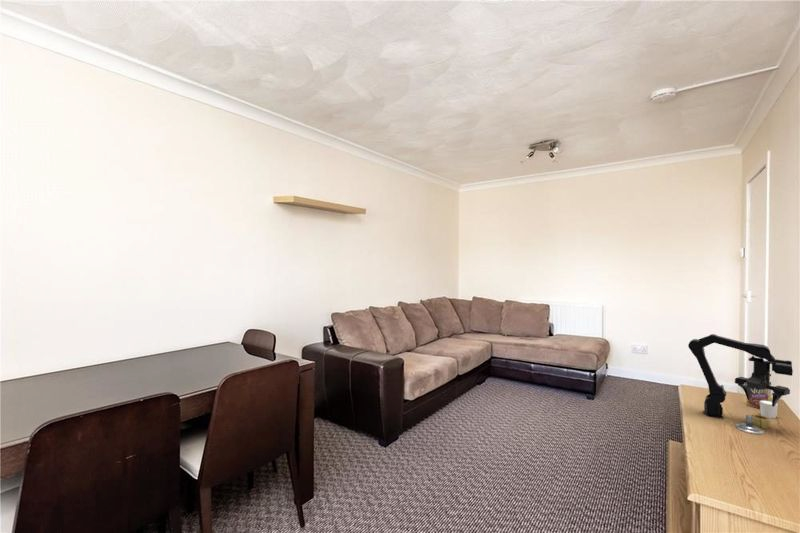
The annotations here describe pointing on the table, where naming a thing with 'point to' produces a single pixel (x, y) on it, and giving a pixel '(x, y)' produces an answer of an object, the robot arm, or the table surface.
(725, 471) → the table surface
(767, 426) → the collar
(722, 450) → the table surface
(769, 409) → the white cup
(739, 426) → the hub
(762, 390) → the candy box
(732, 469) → the table surface
